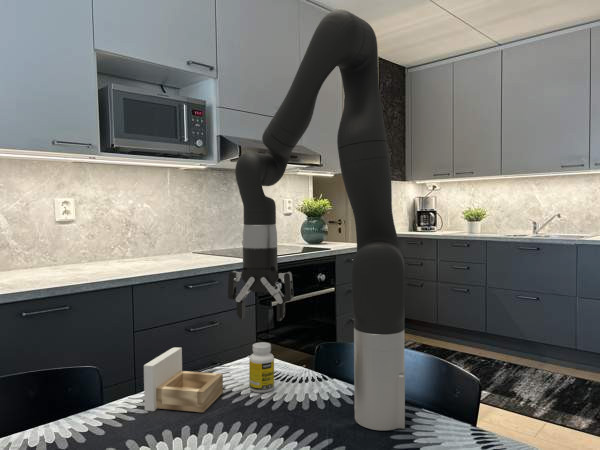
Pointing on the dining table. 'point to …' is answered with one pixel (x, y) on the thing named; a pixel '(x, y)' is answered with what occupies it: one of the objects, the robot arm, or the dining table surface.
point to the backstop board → (160, 374)
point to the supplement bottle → (261, 368)
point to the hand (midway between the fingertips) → (260, 319)
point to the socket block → (189, 391)
